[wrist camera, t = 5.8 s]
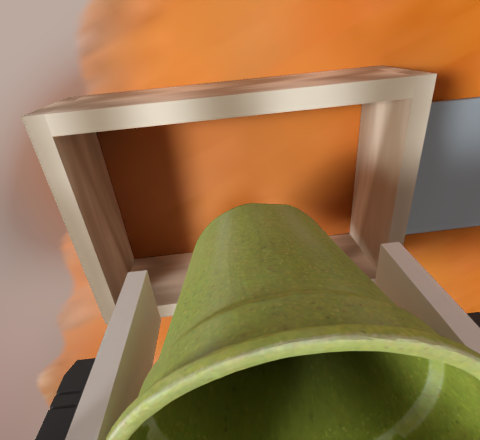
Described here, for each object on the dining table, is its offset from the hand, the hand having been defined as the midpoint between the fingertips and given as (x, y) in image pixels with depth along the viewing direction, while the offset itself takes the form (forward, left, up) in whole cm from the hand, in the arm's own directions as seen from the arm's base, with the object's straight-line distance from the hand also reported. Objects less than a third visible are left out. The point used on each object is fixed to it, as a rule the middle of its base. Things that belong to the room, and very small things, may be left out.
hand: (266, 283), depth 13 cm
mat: (-16, +1, -11) cm, 19 cm away
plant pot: (0, 0, -2) cm, 2 cm away
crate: (0, 0, -11) cm, 11 cm away
